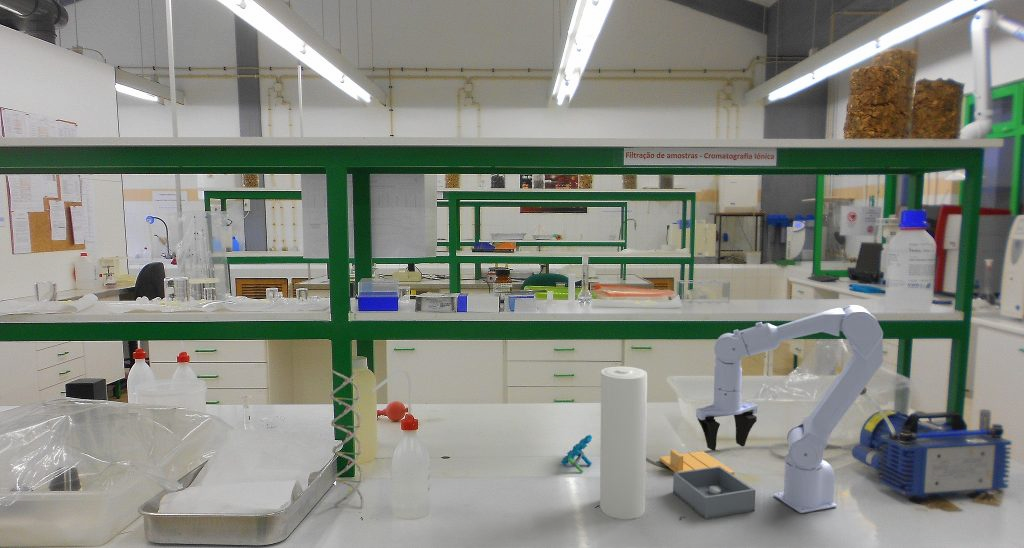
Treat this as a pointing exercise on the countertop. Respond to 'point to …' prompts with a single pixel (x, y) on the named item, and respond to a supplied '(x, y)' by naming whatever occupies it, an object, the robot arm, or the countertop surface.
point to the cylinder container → (623, 442)
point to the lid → (691, 461)
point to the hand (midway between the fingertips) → (725, 446)
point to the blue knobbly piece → (578, 454)
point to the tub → (713, 492)
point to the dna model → (355, 488)
